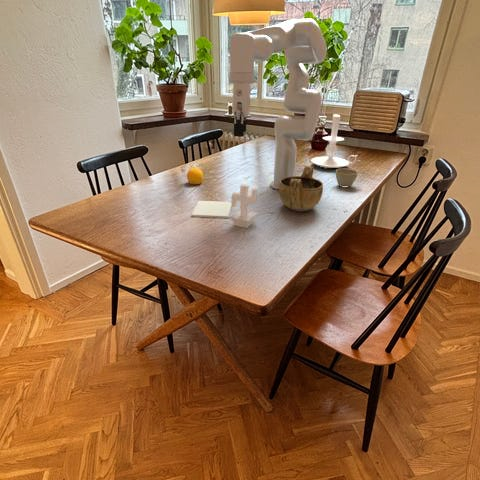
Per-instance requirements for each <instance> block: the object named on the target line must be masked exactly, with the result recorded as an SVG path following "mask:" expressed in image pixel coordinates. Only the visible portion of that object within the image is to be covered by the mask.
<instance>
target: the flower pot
mask: <svg viewBox="0 0 480 480" xmlns="http://www.w3.org/2000/svg"><path fill="white" fill-rule="evenodd" d="M358 174H359V172H358V171H357V170H355V169H351V168H338V169H335V178H336V181H337V185H338V184H339V185H341V186H350V187H351V186H352V185H353V184H354V182H355V181H356V179H357V177H358ZM339 185H338V186H339Z"/></svg>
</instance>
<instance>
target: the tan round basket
mask: <svg viewBox="0 0 480 480" xmlns="http://www.w3.org/2000/svg"><path fill="white" fill-rule="evenodd" d="M313 175H314V166H309V165H304V167H303V171H302V174H301V175H298V176H296V175H295V176H291V177H285V178H282V179H281V180H280V184H279V190H278V196H279V199H280V200H281V202H282V204H283V205H284V206H285V207H287V208H288V209H290V210H292V211H296V212H307V211H309V210H312V209H313V208H315V207H316V206H317V205H318V204H319V202H320V201H321V198H322V195H323V193H324V192H323V191H324V183H323V181H321V180H319V179H318V178H314V177H313Z"/></svg>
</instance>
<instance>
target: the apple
mask: <svg viewBox="0 0 480 480" xmlns="http://www.w3.org/2000/svg"><path fill="white" fill-rule="evenodd" d="M204 176H205V175H204V173H203V171H202V169H200V168H198V167H192V168H190V169H189V170H188V171H187V174H186V179H187V182H188V183H189V184H191V185H199V184H201V183H203V181H204V178H205V177H204Z"/></svg>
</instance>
